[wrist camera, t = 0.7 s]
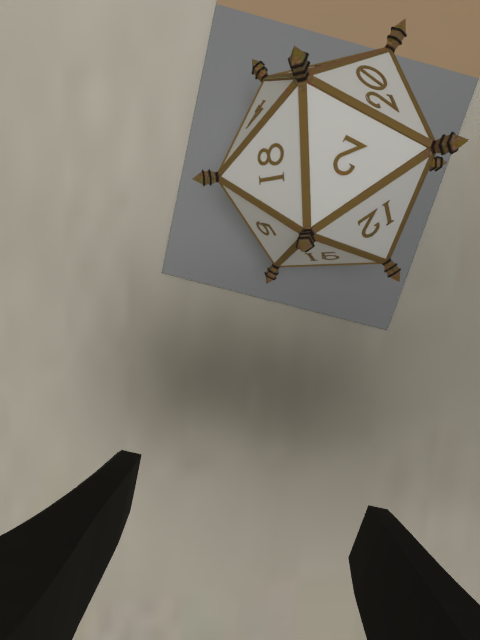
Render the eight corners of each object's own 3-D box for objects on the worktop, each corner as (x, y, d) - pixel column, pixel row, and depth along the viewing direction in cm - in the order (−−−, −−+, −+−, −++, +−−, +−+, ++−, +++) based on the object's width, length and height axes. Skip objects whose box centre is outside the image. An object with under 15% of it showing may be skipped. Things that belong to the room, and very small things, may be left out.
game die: (269, 169, 21) (181, -25, 13) (439, 146, 18) (481, -140, 9) (250, 321, 19) (123, 213, 10) (440, 325, 16) (499, 172, 7)
